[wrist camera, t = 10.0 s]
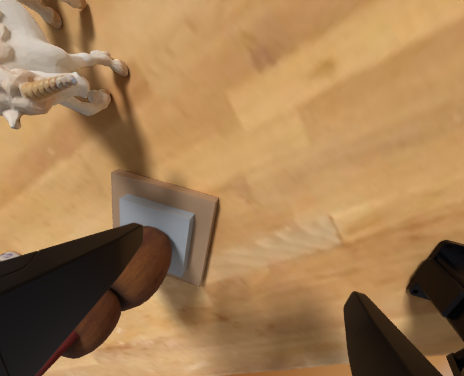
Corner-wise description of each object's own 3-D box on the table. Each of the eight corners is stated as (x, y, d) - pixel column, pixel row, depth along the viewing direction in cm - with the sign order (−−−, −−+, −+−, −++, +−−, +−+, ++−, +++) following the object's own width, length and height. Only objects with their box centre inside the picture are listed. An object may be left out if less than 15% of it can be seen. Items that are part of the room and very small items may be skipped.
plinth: (218, 197, 23) (211, 207, 21) (203, 279, 28) (195, 295, 25) (118, 169, 24) (101, 176, 22) (120, 251, 29) (106, 263, 27)
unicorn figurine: (167, 153, 22) (29, 212, 10) (11, 25, 21) (-357, -80, 9) (205, 94, 19) (74, 78, 7) (26, -59, 18) (-494, -388, 6)
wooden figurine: (170, 214, 22) (-15, 395, 8) (188, 260, 24) (59, 473, 10) (118, 221, 24) (-101, 378, 10) (138, 263, 26) (-27, 445, 12)
